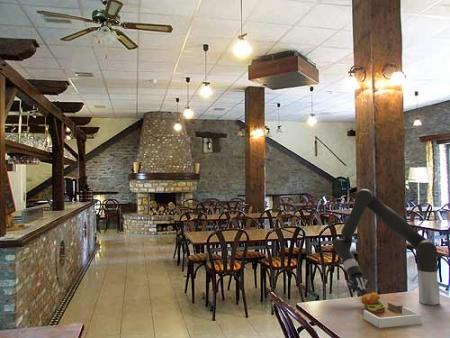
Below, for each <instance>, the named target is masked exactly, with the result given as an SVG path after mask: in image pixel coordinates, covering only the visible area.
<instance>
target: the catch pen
mask: <svg viewBox="0 0 450 338" xmlns="http://www.w3.org/2000/svg"><path fill="white" fill-rule="evenodd" d="M401 313H402V315H396V316H387V317H379V316H377V315H375V314H374V313H373V312H370V311H368V310H366V309H363V319H364V320H365V321H367V322H369V323H371V324H372V325H374V326H375V327H377V328H378V329H382V328H391V327H403V326H411V325H422V324H423V315H422V314H421V313H419V312H417V311H415V310H412V309H410V308H408V307H406V306H403V307H402V312H401Z"/></svg>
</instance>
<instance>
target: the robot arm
mask: <svg viewBox="0 0 450 338" xmlns="http://www.w3.org/2000/svg"><path fill="white" fill-rule="evenodd" d="M353 202H354V203H353V205H352V208H351V210H350V213H349V215H348V217H347V219H346V221H345V223H344V224H343V226H342V228H341V235H342V236H344V237H343V238H335V239H334V240H333V242H332V246H333V247H332V248H333V249H334V252H335V253H336V254H337V255H338V257H339V258H340V260H341V262H342V263H343V267H344V269H345V271H346V274H347V275H348V278H349V281H348V282H347V285H348V286H349V287H351V288H352V290H354V291H356V292H359V293H360V295H361V297H362V296H363V295H365V294H368V293H367V290H368V288H369V287H370V283H371V280H370V279H366V278H365V277H364V275H363V272H362V269H361V268H360V266H359V263H358V262H357V259H356V258H355V256H354V254H353V253H352V251H350V250H351V248H352V245H353V238H354V236H355V235H354V234H355V233H356V231H357V229H358V226H359V223H360V221H361V218H362V216H363V214H364V212H365V210H366V209H369V210H370V211H371V212H373V214H375V215H376V216H377V218H378V219H379V220H380V221H381V223H382V224H384V226H386V227H387V228H388V229H389V230H390V231H391V232H392V233H394V234H395V235H396V236H398V237H400V238H402V239H403V240H405V241H406V242H408V244H410V245H411V246H412V248H413V249H414V250H416V252H417V279H418V280H417V281H418V282H417V285H418V286H417V287H418V302H419V303H420V304H423V305H428V306H429V305H430V306H435V305H439V304H440V303H441V299H440V298H441V295H440V285H439V284H438V251H437V246H436V245H435V244H434V243H433V242H432V241H430V240H429V239H427V238H426V237H425V236H423V235H421V234H420V233H419V232H417V230H415V229H414V228H413V226H411V225H410V223H409V222H407V220H405V218H403V217H402V216H401V215H400V214H399V213H397V212H395V211H394V210H393V209H392V208H391V207H389V206H388V205H386V204H385V203H383V202H382V201H381V200H380V199H379V198H378V197H377V196H376V195H375V194H373V192H372V191H371V190H370V189H367V188H362V189H360V190H358V191H357V192H356V194H355V199H354V201H353Z"/></svg>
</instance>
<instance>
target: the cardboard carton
mask: <svg viewBox="0 0 450 338" xmlns="http://www.w3.org/2000/svg"><path fill="white" fill-rule="evenodd" d="M402 307H404V305H403V304H401V303H399V302H397V301H388V302H387V309H389V310H391V311H394V312H395V313H402Z"/></svg>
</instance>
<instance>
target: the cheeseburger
mask: <svg viewBox="0 0 450 338" xmlns="http://www.w3.org/2000/svg"><path fill="white" fill-rule="evenodd" d="M380 298H381V296H380V295H379V294H378V293H377V292H369V293H367V294H365V295H363V296H362V295H361V299H360V300H361V304H363V307H364V309H365V310H366V311H368V312H370V313H373V314H376V313H381V312H384V311H385V310H386V305H385V304H384V301H382V300H381V299H380Z"/></svg>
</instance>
